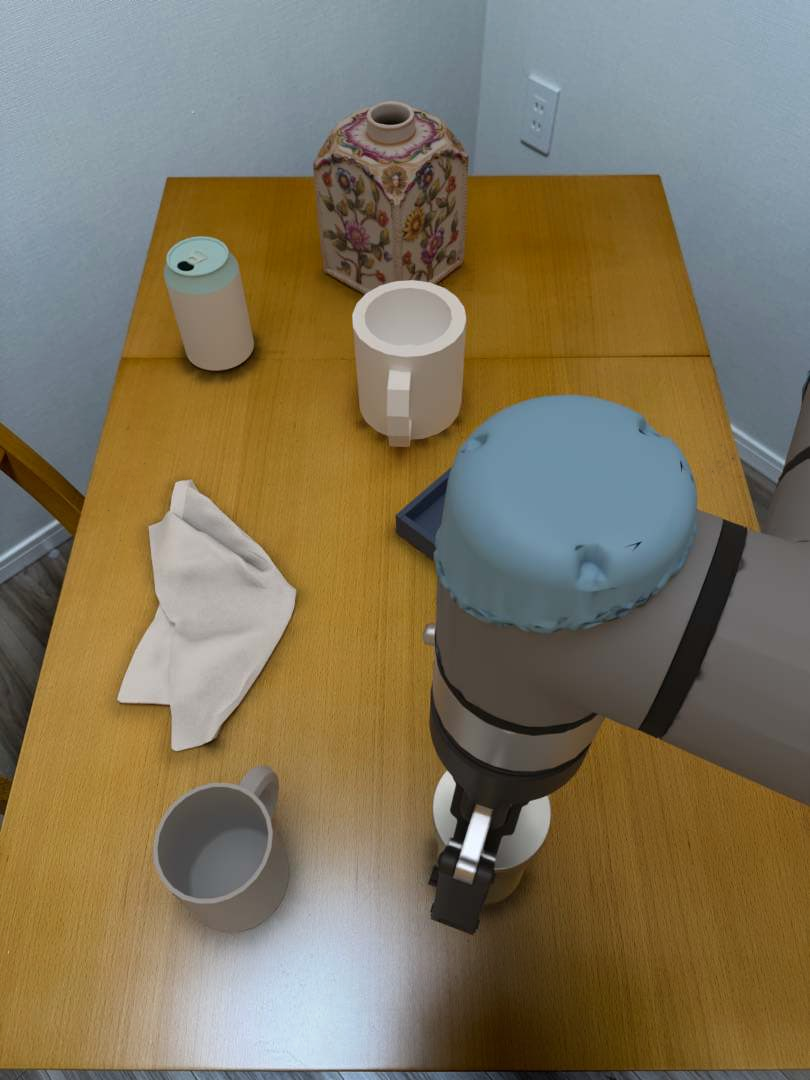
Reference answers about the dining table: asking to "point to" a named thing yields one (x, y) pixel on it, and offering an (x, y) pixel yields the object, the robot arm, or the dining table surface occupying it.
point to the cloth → (205, 618)
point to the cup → (225, 851)
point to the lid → (512, 848)
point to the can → (209, 303)
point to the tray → (424, 516)
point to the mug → (409, 359)
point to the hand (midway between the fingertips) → (480, 840)
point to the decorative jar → (391, 197)
